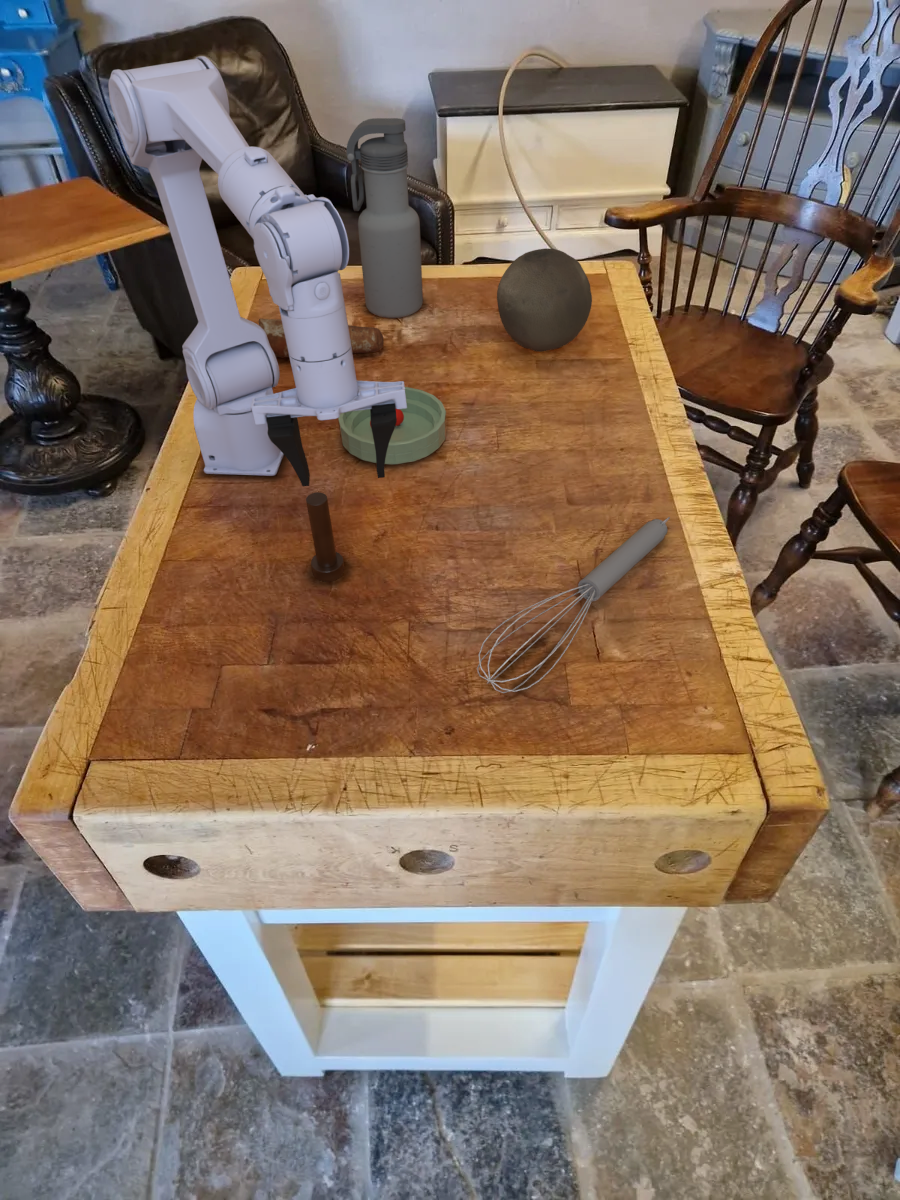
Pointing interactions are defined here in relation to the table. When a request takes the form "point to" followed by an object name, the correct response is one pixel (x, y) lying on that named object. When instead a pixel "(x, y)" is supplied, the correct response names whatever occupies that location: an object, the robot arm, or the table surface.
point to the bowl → (398, 430)
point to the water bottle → (386, 220)
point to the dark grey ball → (544, 299)
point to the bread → (359, 336)
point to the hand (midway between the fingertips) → (343, 476)
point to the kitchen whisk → (590, 589)
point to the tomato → (399, 417)
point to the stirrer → (323, 540)
